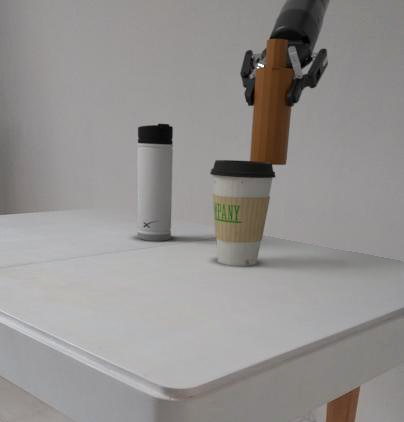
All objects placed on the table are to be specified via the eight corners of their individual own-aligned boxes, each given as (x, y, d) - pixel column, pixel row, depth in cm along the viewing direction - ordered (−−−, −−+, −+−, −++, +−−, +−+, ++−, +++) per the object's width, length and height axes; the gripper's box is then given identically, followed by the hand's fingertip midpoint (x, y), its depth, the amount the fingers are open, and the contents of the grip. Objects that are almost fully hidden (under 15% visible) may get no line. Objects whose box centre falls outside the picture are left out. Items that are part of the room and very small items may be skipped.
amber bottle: (285, 163, 96) (295, 44, 89) (287, 165, 91) (298, 37, 84) (249, 162, 97) (257, 42, 90) (249, 163, 91) (258, 36, 84)
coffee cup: (207, 254, 94) (211, 159, 89) (266, 257, 94) (273, 161, 88) (205, 266, 85) (209, 161, 80) (270, 269, 85) (279, 164, 79)
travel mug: (148, 242, 102) (149, 122, 95) (131, 236, 107) (131, 122, 100) (177, 240, 105) (180, 124, 98) (160, 234, 110) (162, 124, 103)
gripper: (341, 48, 95) (316, 122, 89) (260, 50, 100) (232, 119, 95) (338, 5, 88) (311, 81, 83) (252, 9, 94) (221, 81, 88)
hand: (269, 101), depth 89 cm, fingers closed on amber bottle, 6 cm apart
